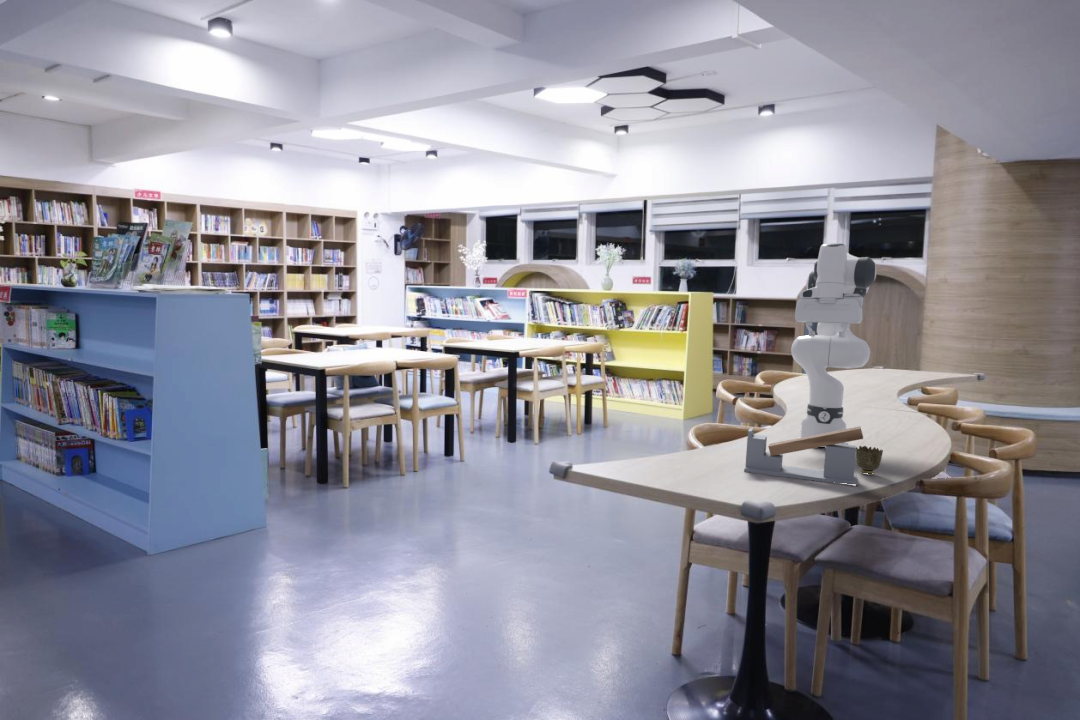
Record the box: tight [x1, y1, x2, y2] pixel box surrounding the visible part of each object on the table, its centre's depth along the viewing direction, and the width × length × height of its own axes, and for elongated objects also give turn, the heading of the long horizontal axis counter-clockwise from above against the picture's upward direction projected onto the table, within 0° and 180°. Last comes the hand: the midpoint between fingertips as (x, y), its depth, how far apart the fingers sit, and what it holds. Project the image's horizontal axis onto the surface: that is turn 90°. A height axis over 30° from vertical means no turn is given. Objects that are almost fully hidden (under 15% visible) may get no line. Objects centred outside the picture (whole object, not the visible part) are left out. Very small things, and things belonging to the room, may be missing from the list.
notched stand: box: [743, 427, 858, 485], centre depth 218 cm, size 10×31×12 cm, turn 67°
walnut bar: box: [768, 425, 864, 456], centre depth 217 cm, size 4×26×11 cm, turn 67°
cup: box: [855, 445, 884, 474], centre depth 223 cm, size 8×7×8 cm
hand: (826, 337), depth 234 cm, fingers open, 8 cm apart
